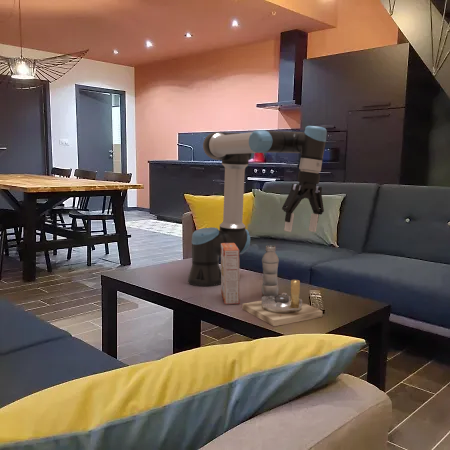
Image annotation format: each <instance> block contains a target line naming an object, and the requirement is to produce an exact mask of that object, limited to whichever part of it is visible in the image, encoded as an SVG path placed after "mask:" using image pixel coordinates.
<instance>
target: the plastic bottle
mask: <svg viewBox="0 0 450 450" xmlns="http://www.w3.org/2000/svg"><path fill="white" fill-rule="evenodd" d="M278 256H279V255H277V253H276V245H271V244H270V245H269V244H268V245H265V253H264V254H263V255H262V257H261V258H262V259H261V263H262V273H263V274H262V284H261V285H262V286H261V293H262V296H274V295H279V290H280V289H279V284H278V267H279V262H280V260H279V257H278Z"/></svg>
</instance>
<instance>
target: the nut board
mask: <svg viewBox="0 0 450 450" xmlns="http://www.w3.org/2000/svg"><path fill="white" fill-rule="evenodd" d="M242 310H243V311H245V312H247V313H249V314H250V315H252V316H254V317H256V318H258V319H260V320H262V321H263V322H265V323H267V324H269V325H271V326H273V327H277V326H283V325H289V324H293V323H298V322H303V321H308V320H313V319H316V318H322V317H323V312H324V311H323V310H321V309H318V308H317V307H314V306H311V305H310V304H307V303H305V302H302V309H301V310H299V311H297V312H292V313H276V312H271V311H267V310H265V309H263V308H262V300H257V301H251V302H247V303H245V302H244V303H242Z"/></svg>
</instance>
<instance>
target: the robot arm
mask: <svg viewBox="0 0 450 450" xmlns="http://www.w3.org/2000/svg"><path fill="white" fill-rule="evenodd" d="M304 129H305V130H304V131H291V130H288V131H287V130H284V131H282V130H278V131H277V130H266V129H265V130H264V129H258V130H257V129H256V130H253V131H250V132H225V131H223V132H222V131H220V132H219V131H215V132H211V133H210V134H207V136H206V137H205V138H204V141H203V143H202V149H203V152H204V154H205V155H206V156H207V157H209V158H210V159H213V160H216V161H221V165H222V166H223V167H224V184H223V185H224V187H223V188H224V190H223V193H224V194H223V214H222V215H223V217H222V218H223V219H222V220H223V221H222V222H221V223H220V224H219V228H217V227H203V228H199V229H196V230H194V232H192V234H191V267H190V270H189V274H188V278H187V279H188V281H187V283H188V282H189V283H190V285H192V286H196V287H214V286H218V285H221V266H220V263H219V261H220V260H219V259H220V258H221V243H235V244H236V246H237V247H238V249H239V255H243V254H245V253H246V252H247V251H248V250H249V248H250V244H251V235H250V232H249V230H248V229H246V224H244V223H243V216H244V193H245V192H244V191H245V173H246V172H245V170H246V168H247V167H248V166H249V161H250V160H252V159H253V158H254V155H255V154H260V153H261V154H262V153H263V154H264V153H267V154H268V153H272V154H274V153H278V154H279V153H280V154H282V153H283V154H301V155H300V161H299V167H298V169H299V171H298V175H297V178H296V179H297V180H296V181H297V182H298V184H296V183H292V185H291V189H290V191H289V193H288V195H287V197H286V198H285V201H284V203H283V205H282V208H281V210H283V212H285V216H284V228H283V231H284V232H288V233H292V230H293V224H294V219H295V218H294V217H295V213H294V211H295V210H296V209H297V208H298V206H299V205H300V203H301V202H302V201H303V200H304V199H307V200H308V201H309V204H310V206H311V210H312V212H311V214H310V219H309V220H310V221H309V227H308V232H311V233H316V232H317V227H318V223H319V219H320V215H322V214H323V213H324V212H325V208H324V203H323V202H324V201H323V194H322V193H323V188H322V186H317V185H319V184H320V178H321V174H320V172H321V171H322V165H323V160H324V154H325V147H326V142H327V133H328V131H327V130H328V129H326V127H322V126H317V125H307V126H305V128H304Z"/></svg>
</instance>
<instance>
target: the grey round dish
mask: <svg viewBox="0 0 450 450" xmlns="http://www.w3.org/2000/svg"><path fill="white" fill-rule="evenodd" d="M300 289H301V280H299V279H291V280H290V295H288V293H287V292H282V293H281V294H277V295H274V296H264V295H262V296H261V301H262V308H263V309H265V310H267V311H271V312H276V313H292V312H297V311H299V310H301V309H302V303H303V299H302V298H300V295H301V294H300V291H301V290H300Z"/></svg>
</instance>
